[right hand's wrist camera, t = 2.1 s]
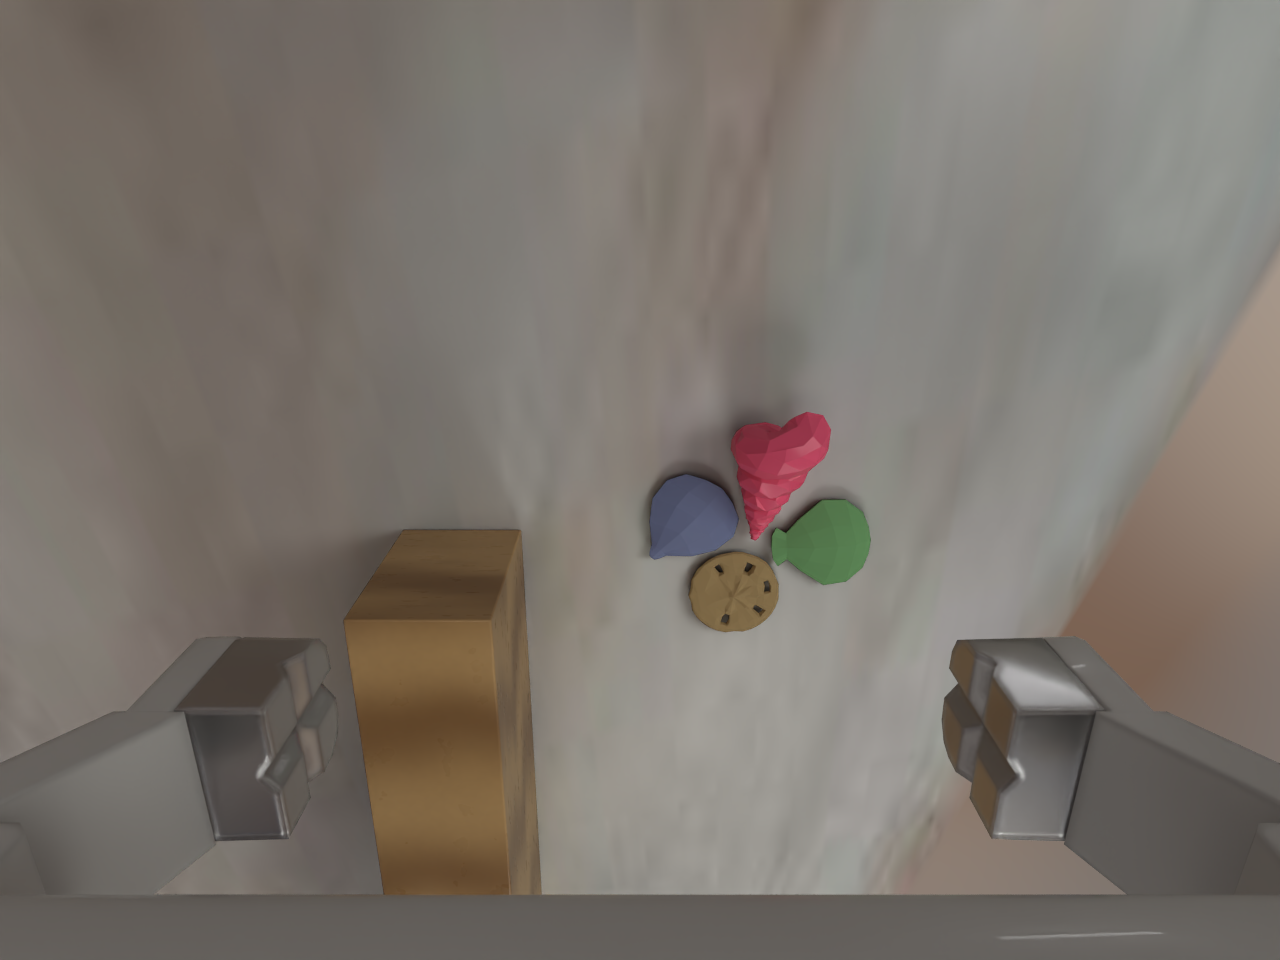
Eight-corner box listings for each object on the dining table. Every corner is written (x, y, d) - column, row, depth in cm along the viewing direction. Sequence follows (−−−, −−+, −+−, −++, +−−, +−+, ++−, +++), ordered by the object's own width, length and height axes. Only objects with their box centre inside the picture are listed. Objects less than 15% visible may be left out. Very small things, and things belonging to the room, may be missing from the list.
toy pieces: (618, 440, 39) (615, 470, 35) (844, 385, 38) (868, 410, 34) (674, 644, 44) (678, 693, 39) (879, 599, 43) (905, 645, 38)
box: (402, 529, 41) (342, 619, 33) (521, 529, 41) (491, 620, 33) (447, 921, 51) (409, 1068, 43) (543, 921, 51) (524, 1069, 43)
